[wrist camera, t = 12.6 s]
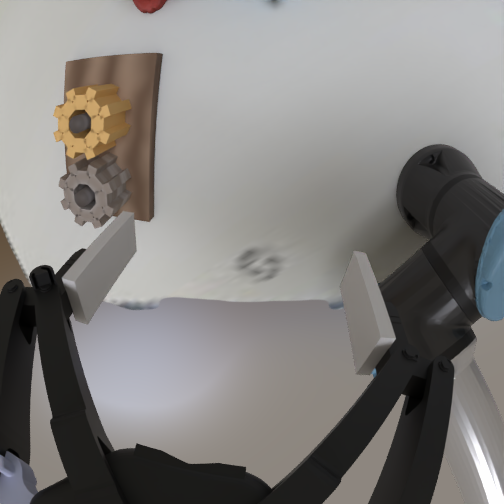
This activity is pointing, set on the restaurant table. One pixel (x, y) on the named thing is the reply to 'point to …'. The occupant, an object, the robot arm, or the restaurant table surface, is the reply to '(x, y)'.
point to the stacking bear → (149, 5)
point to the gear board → (127, 147)
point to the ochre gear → (92, 119)
